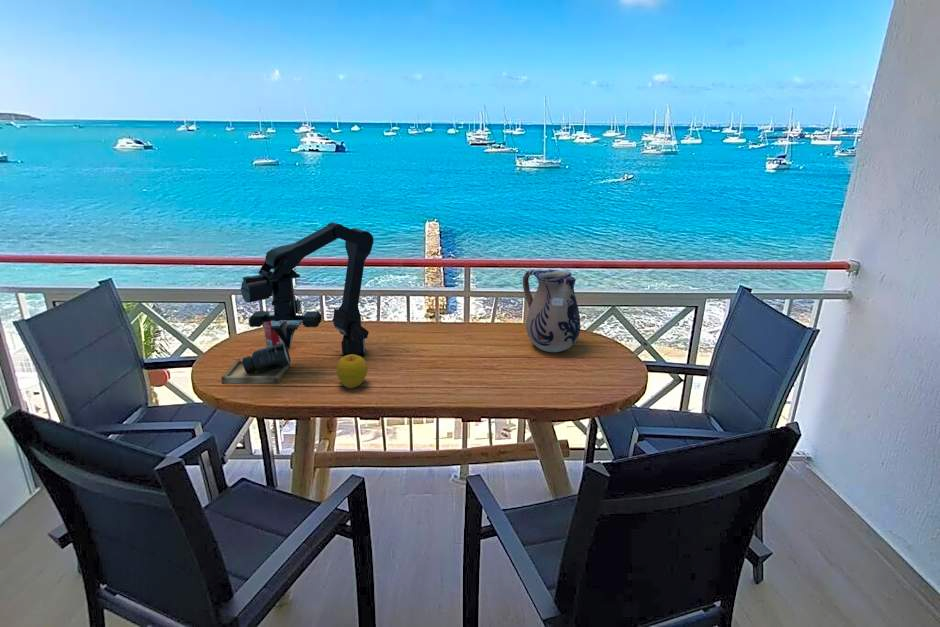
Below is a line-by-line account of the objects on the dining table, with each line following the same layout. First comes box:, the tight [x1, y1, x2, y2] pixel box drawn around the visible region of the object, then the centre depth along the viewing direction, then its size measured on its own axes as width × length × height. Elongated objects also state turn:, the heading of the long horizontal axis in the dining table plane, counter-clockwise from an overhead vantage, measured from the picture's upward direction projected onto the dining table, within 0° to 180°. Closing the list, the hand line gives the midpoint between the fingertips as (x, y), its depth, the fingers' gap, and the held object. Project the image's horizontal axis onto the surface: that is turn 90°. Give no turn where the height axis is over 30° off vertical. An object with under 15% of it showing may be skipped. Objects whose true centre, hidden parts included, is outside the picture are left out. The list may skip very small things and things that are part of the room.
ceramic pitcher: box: [522, 268, 581, 353], centre depth 177 cm, size 18×21×25 cm
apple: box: [335, 354, 368, 389], centre depth 151 cm, size 9×8×9 cm
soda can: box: [263, 310, 289, 348], centre depth 173 cm, size 7×7×12 cm
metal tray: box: [220, 358, 291, 384], centre depth 158 cm, size 16×12×2 cm
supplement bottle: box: [242, 343, 292, 374], centre depth 157 cm, size 7×7×12 cm
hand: (288, 347), depth 155 cm, fingers closed
